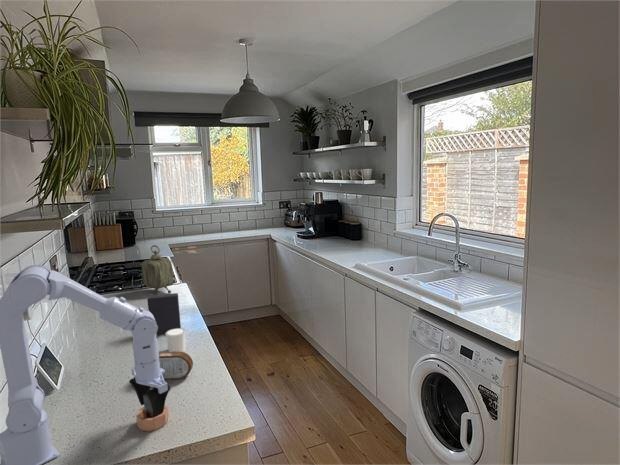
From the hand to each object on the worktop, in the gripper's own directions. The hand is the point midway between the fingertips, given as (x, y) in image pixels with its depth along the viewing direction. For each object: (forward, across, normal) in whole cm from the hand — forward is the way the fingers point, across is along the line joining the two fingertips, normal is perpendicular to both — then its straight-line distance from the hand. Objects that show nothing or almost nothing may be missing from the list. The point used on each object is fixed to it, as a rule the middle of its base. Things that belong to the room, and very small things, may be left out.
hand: (151, 408), depth 104 cm
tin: (+4, +17, -14) cm, 22 cm away
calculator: (+4, +50, -32) cm, 60 cm away
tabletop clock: (+4, +98, -55) cm, 112 cm away
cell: (+3, 0, 0) cm, 3 cm away
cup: (+4, 0, 0) cm, 4 cm away
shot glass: (+4, +32, -26) cm, 41 cm away
